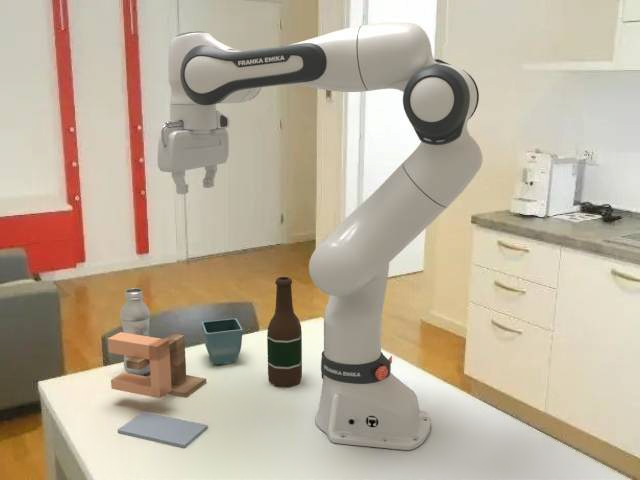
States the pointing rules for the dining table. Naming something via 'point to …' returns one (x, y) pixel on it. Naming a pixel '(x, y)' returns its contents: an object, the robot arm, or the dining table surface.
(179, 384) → the brown wooden angular piece
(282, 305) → the beer bottle
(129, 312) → the plastic bottle
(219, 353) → the flower pot
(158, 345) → the c link
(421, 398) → the dining table surface
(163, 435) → the felt mat
